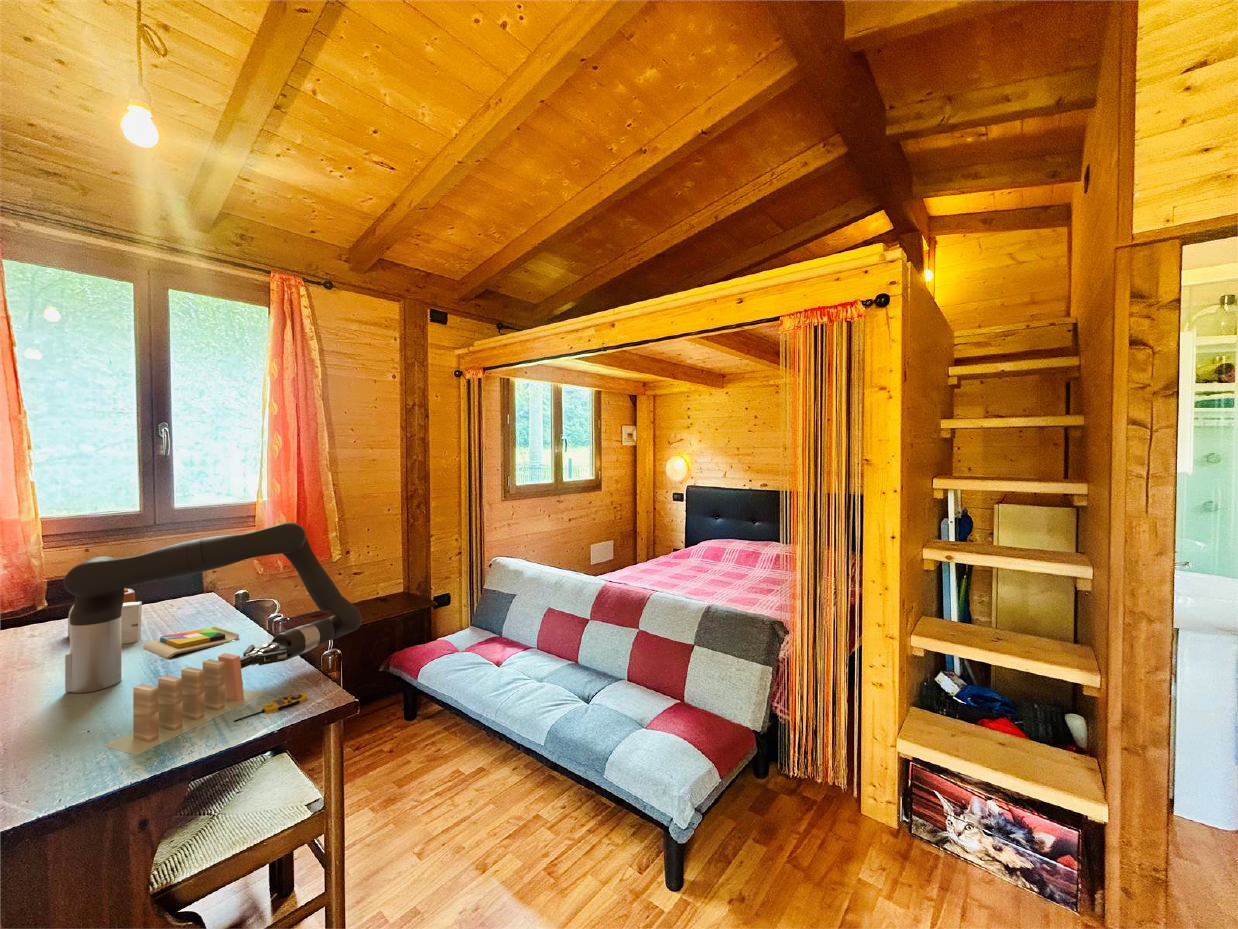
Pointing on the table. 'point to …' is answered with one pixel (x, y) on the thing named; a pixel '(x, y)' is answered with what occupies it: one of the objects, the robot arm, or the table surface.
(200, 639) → the wooden puzzle
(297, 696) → the yellow screwdriver
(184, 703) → the domino
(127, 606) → the skincare box
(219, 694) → the domino
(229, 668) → the domino
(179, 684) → the domino
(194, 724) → the mat
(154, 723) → the domino
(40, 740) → the table surface
